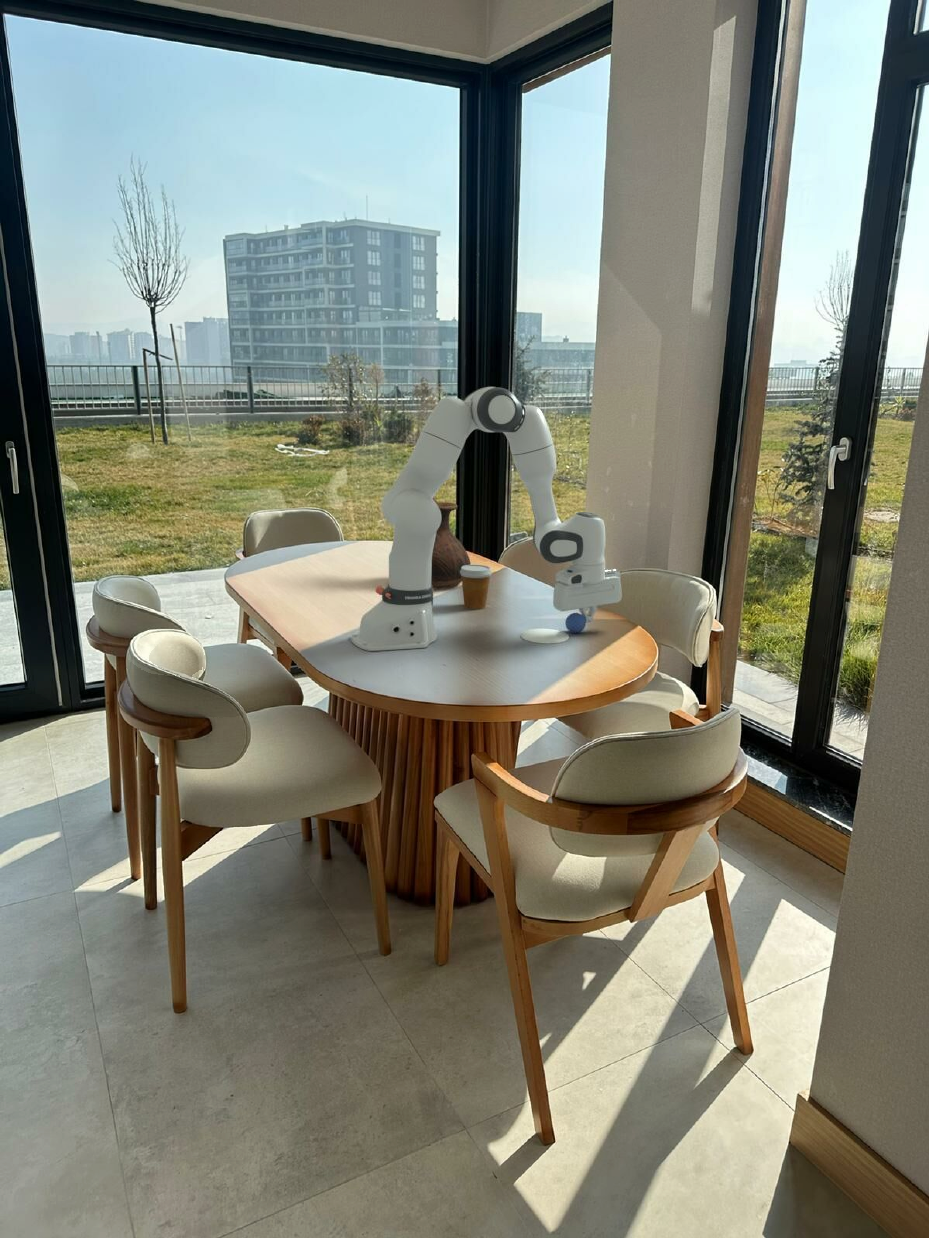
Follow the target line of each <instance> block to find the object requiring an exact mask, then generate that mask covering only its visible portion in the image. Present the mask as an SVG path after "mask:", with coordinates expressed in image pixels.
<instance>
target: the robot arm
mask: <svg viewBox="0 0 929 1238" xmlns="http://www.w3.org/2000/svg"><path fill="white" fill-rule="evenodd" d="M474 430H475V431H476V430H477V431H482V432H485V433H502V434H503V435H505V437H506V439H507V441H508V443H509V447H510V448H509V449H510V452H511V456H512V460H513V461H512V462H513V463H514V466H515V468H516V471H517V473H518V476H519V478H520V479H521V481H522V483H523V484H524V486H525V489H526V490H527V492H528V495H529V496H528V497H529V500H530V505H531V509H532V513H533V519H534V528H533V532H532V533H533V534H532V542H533V545H534V547H535V549H536V550H537V551H538V553H540V555H541V556H542V557H543V559H544V560H546V561H547V562H548V563H551V564H562V563H568V562H571V565H570V566H567V567H566V568H564V569H562V570H560V571H558V572H556V574H555V581H557V582H556V583H555V585H554V588H553V596H552V597H553V598H552V599H553V600H552V604H553V607H554V608H555V610H557V611H560V612H568V611H573V610H579V612H580V613H579V614H581V615H582V616H583V617H584V618H585V621H586V624H588V623H592V622H594V616H595V613H596V612H597V610H598V606H602V605H603V606H605V605H608V604H616V603H620V602H621V600H622V598H623V595H622V594H623V593H622V592H623V591H622V583H621V576H622V575H621V572H620V571H619V570H618V569H616V568H611V569H606V558H605V549H606V541H607V540H606V527H605V522H604V519H603V518H602V517H601V516H599V515H598V514H595V513H592V512H585V511H579V512H576V513H574V515H573V516H571V517H570V518H568V519H567V520H564V521H563V522H562V520H561V519H560V517H559V515H558V511H557V508H556V502H555V498H554V494H553V489H552V488H553V486H552V485H553V479H554V475H555V474H556V471H557V455H556V450H555V449H556V448H555V445H554V440H553V436H552V433H551V430H550V427H549V423H548V422H547V419H546V418H545V415H544V413H543V411H542V410H541V409H540V408H539V407H538V406H536V405H532V404H524V405H523V404H522V402H520V400H519V399H518V398H517V397H516V396H515V394H514V393H512V392H511V391H510V390H508V389H506V388H503V387H498V386H497V387H496V386H486V387H482V388H478V389H476V390H473V391H472V392H471V393H469V394H468V395H467V396H465V397H464V398H461V399H460V398H459V397H455V396H447V397H443V398H441V399H440V400H439V401H438V402H437V404H436V405H435V407H434V408H433V410H432V412H431V413H430V414H429V416H428V418H427V420H426V422H425V424H424V426H423V428H422V430H421V432H420V434H419V437H418V439H417V442H416V444H415V446H414V448H413V450H412V452H411V454H410V457H409V458H408V461H407V462H406V464H405V466H404V467H403V468H402V470H401V472H400V473H399V475H398V476H397V478H396V479H395V481H394V483H393V484H392V486H391V488H390V489H389V490H388V491H387V492H386V493H385V494H384V495H383V498H382V500H381V505H380V506H381V511H382V514H383V517H384V519H385V520H386V522H387V523H388V525H390V526H392V527H393V530H394V531H393V532H394V533H393V539H392V545H391V550H390V553H389V554H388V585H386V587H385V588H384V587H382V586H380V585H379V586H377V587H376V588H375V593H376V594H378V595H380V596H381V600H380V601H379V602H378V603H377V604H376V605H374V607H372V608H371V609H370V610H368V611H367V612H366V613H364V614H363V615H362V617H361V620H360V625H359V629H358V632H354V633H351V637H350V641H351V643H352V644H354V645H355V646H356V647H358V648H359V649H362V650H365V651H369V652H370V651H371V652H375V651H376V652H377V651H378V652H379V651H393V650H394V651H395V650H408V649H409V650H410V649H424V648H427V647H428V646H429V645H430V644H432V643H433V642H435V641H436V640H437V639H438V635H437V631H436V628H435V622H434V616H433V615H434V614H433V606H434V588H433V586H432V585H431V576H432V553H433V547H434V542H435V537H436V532H437V530H438V528H439V526H440V524H441V511H440V509H439V507H438V505H437V504H436V503H435V501H434V500H433V497H434V498H435V496H436V495H437V492H438V491H439V489H441V487H442V486H443V485H444V484H445V483H446V482H447V481H449V479H450V478H451V475H452V473H453V471H454V468H455V466H456V463H457V461H458V459H459V457H460V455H461V453H462V450H463V449H464V446H465V443H466V440H467V439H468V437H469V436H470V434H471V433H472V432H473V431H474ZM588 609H589V610H588ZM587 611H588V613H587Z"/></svg>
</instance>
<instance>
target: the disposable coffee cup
mask: <svg viewBox="0 0 929 1238" xmlns="http://www.w3.org/2000/svg"><path fill="white" fill-rule="evenodd" d="M460 573H461V577H462V582H461V584H462V585H461V586H462V595H463V596H462V597H463V605H464V608H466V609H468V610H481V609H485V608H486V605H487V599H488V592H489V586H490V578H491V575H492V573H493V572H492V569H491V567H490V566H488V565H484V564H483V565H482V564H471V565H465V566H462V567H461V570H460Z"/></svg>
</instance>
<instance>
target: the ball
mask: <svg viewBox="0 0 929 1238" xmlns="http://www.w3.org/2000/svg"><path fill="white" fill-rule="evenodd" d="M586 624H587V623H586V621H585V618H584V617H583V616H582V614H581V613H579V612H573V613H570V614H568V615H567V617H566V619H565V627H566V629H567V630H568V632H571V633H572V634H573V633H574V634H579V633H580V632H582V631H584V630H585V627H586Z"/></svg>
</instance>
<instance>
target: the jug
mask: <svg viewBox="0 0 929 1238" xmlns="http://www.w3.org/2000/svg"><path fill="white" fill-rule="evenodd" d="M433 500H434V501H435V503H436V504H437V505H438V507H439V509H440V511H441V524H440V526H439V528H438V530H437V532H436V537H435V542H434V547H433V553H432V576H431V585H432V586H433V589H434V590H435V589H436V590H438V589H440V590H441V589H447V588H454V587H457V586H458V585H460V583H461V584H462V577H461V573H460V570H461V567H462V566H465V565H472V564H471V559H470V557H469V555H468V552H467V550H466V548H465V547H464V545H463V544H462V542H461V541H460V540H459V539H458V538H457V537H456V536H455V535H454V534H452V531H451V528H450V514H451V512H452V511H454V510H457V509H458V506H459V505H457V504H456V503H452V502H447V501H446V502H444V501H443V502H439V501H437V499H436V497H435V496H434V497H433Z"/></svg>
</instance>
